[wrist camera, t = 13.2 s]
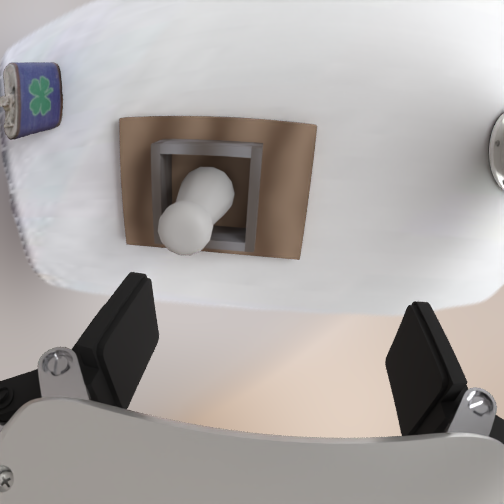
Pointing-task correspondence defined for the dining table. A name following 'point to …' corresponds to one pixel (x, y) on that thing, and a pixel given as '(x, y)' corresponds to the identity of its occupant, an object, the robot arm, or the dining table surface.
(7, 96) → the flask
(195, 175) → the salt shaker
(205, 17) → the dining table surface
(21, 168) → the dining table surface
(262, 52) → the dining table surface
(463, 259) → the dining table surface
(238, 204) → the holder board
